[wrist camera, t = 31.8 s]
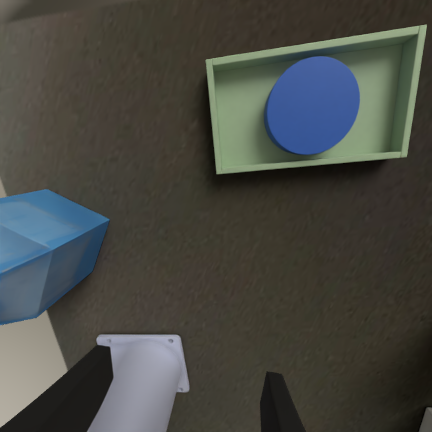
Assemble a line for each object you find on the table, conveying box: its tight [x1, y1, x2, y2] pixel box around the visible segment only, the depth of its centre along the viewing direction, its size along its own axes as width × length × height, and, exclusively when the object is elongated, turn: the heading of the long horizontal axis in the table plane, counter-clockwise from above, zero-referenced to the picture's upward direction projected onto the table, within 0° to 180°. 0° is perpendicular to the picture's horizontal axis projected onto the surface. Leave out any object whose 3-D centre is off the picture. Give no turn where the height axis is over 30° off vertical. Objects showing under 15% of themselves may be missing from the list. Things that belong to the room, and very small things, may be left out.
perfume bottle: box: [0, 189, 110, 325], centre depth 14 cm, size 6×6×12 cm
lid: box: [264, 56, 360, 155], centre depth 14 cm, size 6×6×2 cm
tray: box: [206, 25, 427, 174], centre depth 14 cm, size 13×7×2 cm, turn 96°
